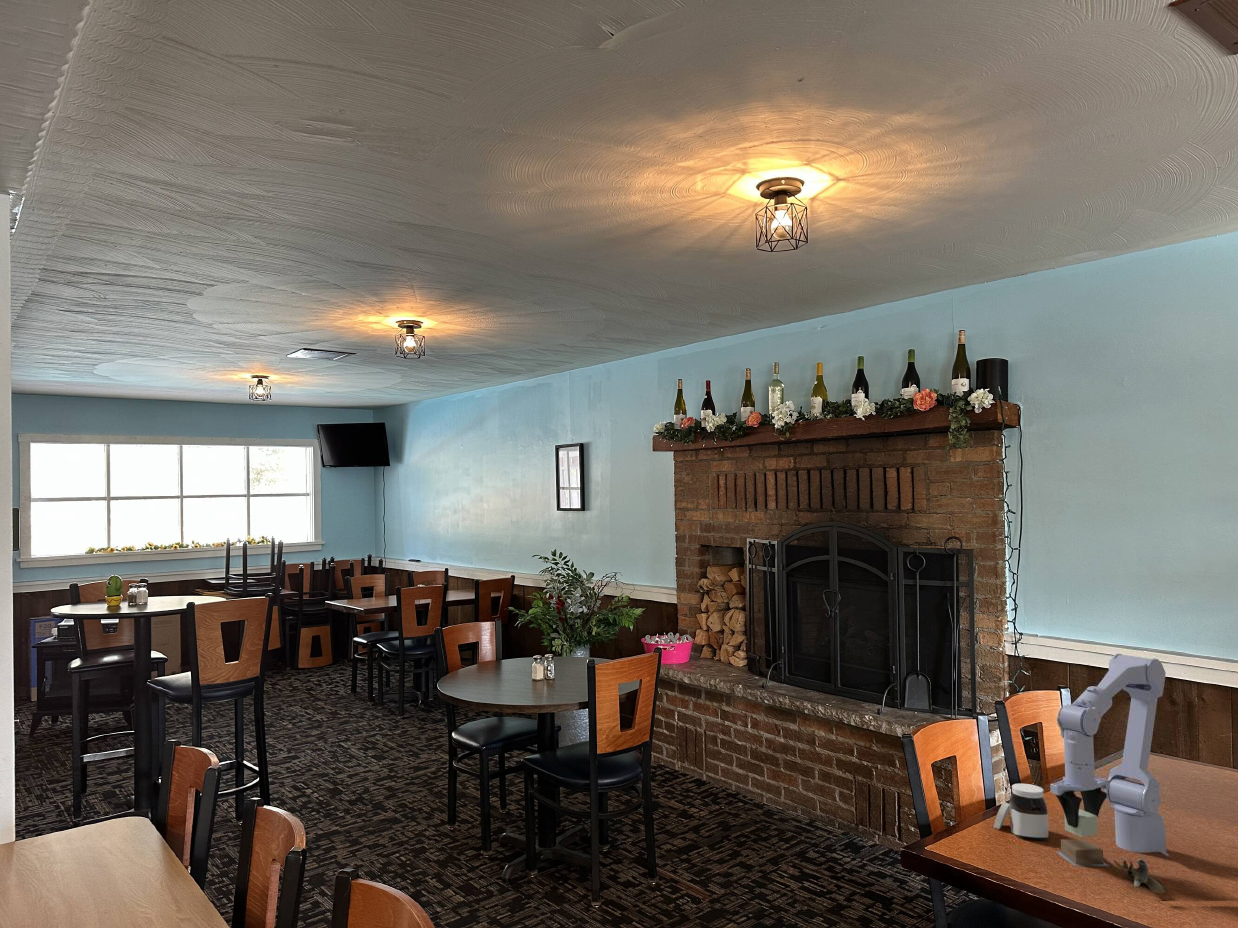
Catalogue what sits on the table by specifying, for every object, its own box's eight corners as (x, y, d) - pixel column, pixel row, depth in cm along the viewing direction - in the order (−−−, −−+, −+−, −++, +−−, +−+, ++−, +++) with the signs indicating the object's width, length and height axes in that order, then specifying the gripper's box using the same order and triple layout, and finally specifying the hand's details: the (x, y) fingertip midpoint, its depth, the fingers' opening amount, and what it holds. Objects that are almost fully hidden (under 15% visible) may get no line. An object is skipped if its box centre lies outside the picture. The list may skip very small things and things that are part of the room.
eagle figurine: (1107, 878, 172) (1142, 888, 163) (1117, 845, 174) (1152, 853, 166) (1136, 897, 172) (1173, 908, 164) (1146, 864, 175) (1183, 873, 166)
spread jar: (1053, 846, 191) (1051, 795, 192) (1001, 842, 194) (999, 792, 194) (1037, 828, 203) (1036, 779, 204) (988, 824, 205) (987, 776, 206)
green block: (1098, 834, 179) (1097, 815, 180) (1081, 837, 178) (1080, 818, 178) (1080, 827, 184) (1080, 808, 184) (1064, 829, 182) (1064, 811, 183)
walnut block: (1087, 853, 185) (1087, 839, 186) (1103, 863, 179) (1103, 849, 180) (1061, 852, 185) (1060, 839, 186) (1076, 863, 179) (1075, 849, 180)
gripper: (1090, 753, 187) (1092, 814, 187) (1038, 759, 183) (1041, 821, 182) (1117, 762, 181) (1119, 825, 180) (1064, 768, 177) (1066, 833, 176)
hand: (1081, 824), depth 181 cm, fingers closed on green block, 4 cm apart
